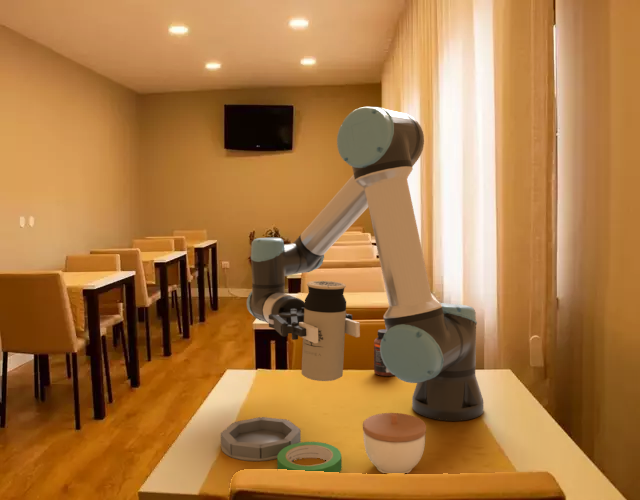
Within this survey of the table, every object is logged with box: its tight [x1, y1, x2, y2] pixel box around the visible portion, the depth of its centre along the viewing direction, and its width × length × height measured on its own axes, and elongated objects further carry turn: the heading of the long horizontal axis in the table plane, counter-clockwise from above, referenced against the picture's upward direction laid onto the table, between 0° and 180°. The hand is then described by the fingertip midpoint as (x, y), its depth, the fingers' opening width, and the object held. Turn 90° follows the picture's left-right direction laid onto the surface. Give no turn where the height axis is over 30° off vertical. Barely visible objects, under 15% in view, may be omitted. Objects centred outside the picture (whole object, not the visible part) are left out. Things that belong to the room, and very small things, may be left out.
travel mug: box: [301, 280, 347, 382], centre depth 118 cm, size 8×8×18 cm
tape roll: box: [276, 441, 343, 473], centre depth 106 cm, size 11×11×3 cm
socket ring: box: [220, 416, 302, 462], centre depth 116 cm, size 15×15×2 cm
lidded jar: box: [362, 412, 427, 474], centre depth 105 cm, size 11×11×9 cm
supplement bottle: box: [373, 328, 394, 377], centre depth 159 cm, size 6×6×11 cm
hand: (337, 332), depth 113 cm, fingers closed on travel mug, 8 cm apart
